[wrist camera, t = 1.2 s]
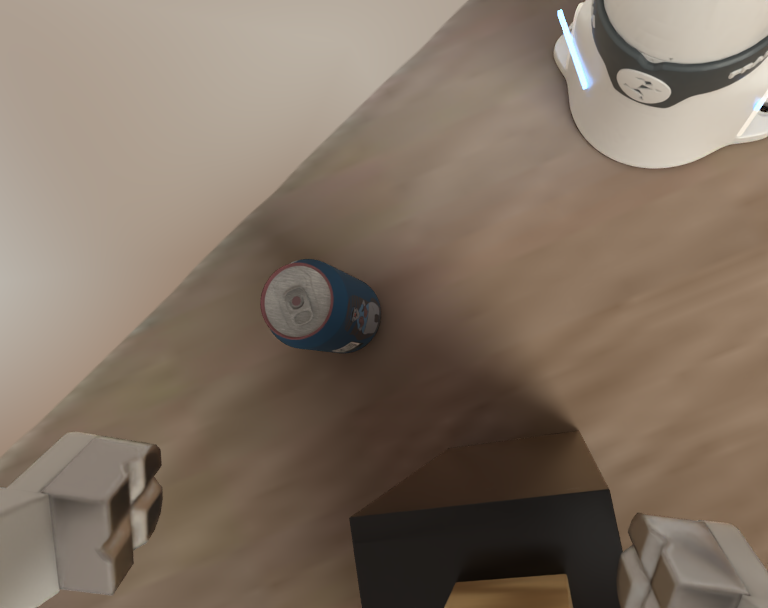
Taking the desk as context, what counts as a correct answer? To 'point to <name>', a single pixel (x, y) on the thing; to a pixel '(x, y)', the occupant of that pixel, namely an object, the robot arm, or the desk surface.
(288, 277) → the soda can
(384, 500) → the shelf
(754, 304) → the desk surface
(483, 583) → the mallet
